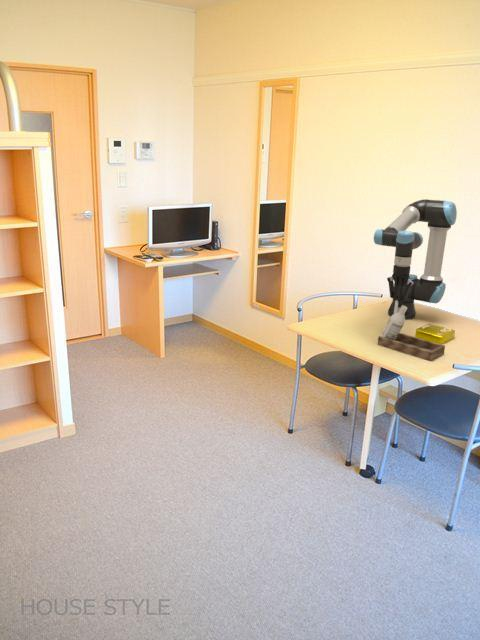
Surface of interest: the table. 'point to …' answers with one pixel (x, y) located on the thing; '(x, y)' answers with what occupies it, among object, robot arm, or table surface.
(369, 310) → the table surface
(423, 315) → the table surface
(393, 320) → the bath foam
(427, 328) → the element tile
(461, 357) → the table surface
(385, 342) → the brown wooden tray
